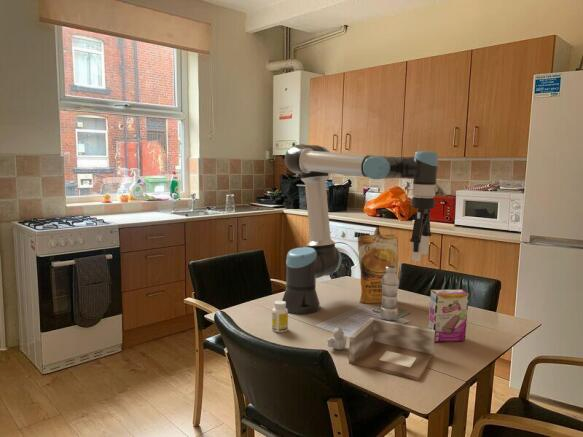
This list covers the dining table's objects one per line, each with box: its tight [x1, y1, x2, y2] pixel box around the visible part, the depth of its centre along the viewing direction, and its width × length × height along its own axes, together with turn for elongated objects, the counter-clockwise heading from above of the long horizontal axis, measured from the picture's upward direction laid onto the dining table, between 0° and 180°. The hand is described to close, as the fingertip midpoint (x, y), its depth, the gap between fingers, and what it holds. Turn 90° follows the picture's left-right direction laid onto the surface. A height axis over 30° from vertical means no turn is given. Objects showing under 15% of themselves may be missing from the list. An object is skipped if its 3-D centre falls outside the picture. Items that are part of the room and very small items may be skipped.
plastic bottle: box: [379, 266, 400, 322], centre depth 160 cm, size 6×7×20 cm
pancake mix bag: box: [357, 234, 399, 304], centre depth 182 cm, size 7×19×28 cm, turn 103°
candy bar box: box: [427, 289, 470, 343], centre depth 143 cm, size 11×5×16 cm, turn 97°
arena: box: [348, 317, 435, 382], centre depth 128 cm, size 20×18×8 cm
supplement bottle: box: [271, 300, 289, 333], centre depth 149 cm, size 5×5×10 cm
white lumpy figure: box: [326, 324, 347, 351], centre depth 135 cm, size 5×7×8 cm
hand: (419, 257), depth 152 cm, fingers open, 13 cm apart
